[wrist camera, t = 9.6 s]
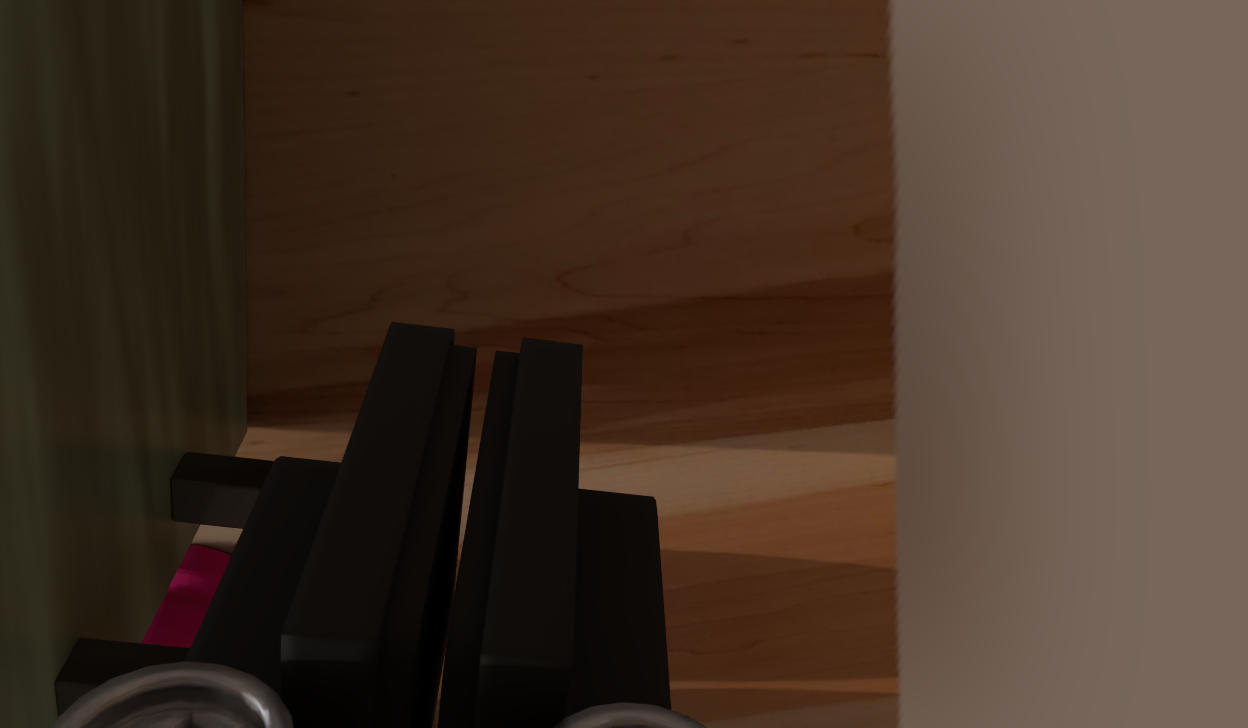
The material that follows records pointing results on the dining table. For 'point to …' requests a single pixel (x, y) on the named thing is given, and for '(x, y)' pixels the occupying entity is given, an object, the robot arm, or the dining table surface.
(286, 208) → the dining table surface
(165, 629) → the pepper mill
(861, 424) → the dining table surface
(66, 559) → the cupboard door
